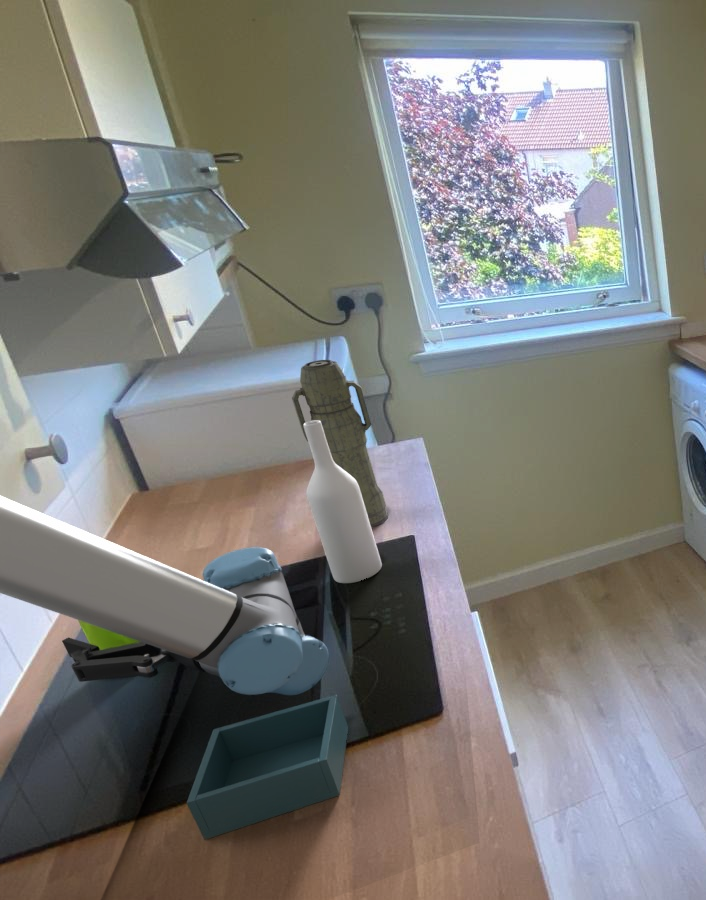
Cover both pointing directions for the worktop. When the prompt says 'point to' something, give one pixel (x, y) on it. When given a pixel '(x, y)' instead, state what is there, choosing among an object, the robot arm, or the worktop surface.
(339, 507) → the bottle
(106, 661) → the robot arm
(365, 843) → the worktop surface
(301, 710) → the tub
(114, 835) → the worktop surface
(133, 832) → the worktop surface
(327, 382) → the olive amphora vase
